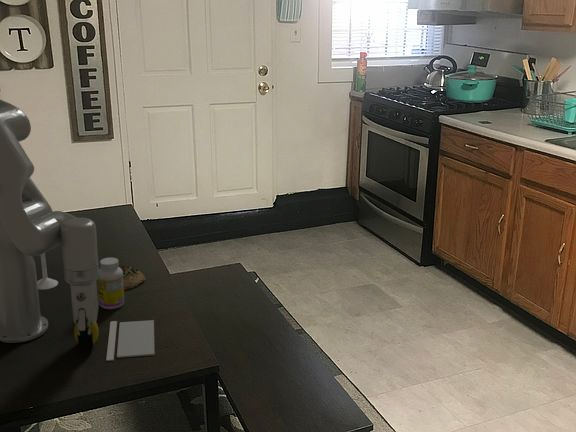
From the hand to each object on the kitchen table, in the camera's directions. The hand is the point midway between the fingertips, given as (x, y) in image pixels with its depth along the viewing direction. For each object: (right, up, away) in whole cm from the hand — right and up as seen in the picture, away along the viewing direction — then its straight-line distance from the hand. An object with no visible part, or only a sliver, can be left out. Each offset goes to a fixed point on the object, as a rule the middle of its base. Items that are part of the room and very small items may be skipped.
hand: (87, 340), depth 147 cm
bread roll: (0, +10, +34) cm, 36 cm away
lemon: (0, -2, +1) cm, 2 cm away
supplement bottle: (0, +6, +21) cm, 22 cm away
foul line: (+5, -1, +3) cm, 6 cm away
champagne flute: (-22, +10, +31) cm, 39 cm away
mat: (+10, 0, +5) cm, 11 cm away
